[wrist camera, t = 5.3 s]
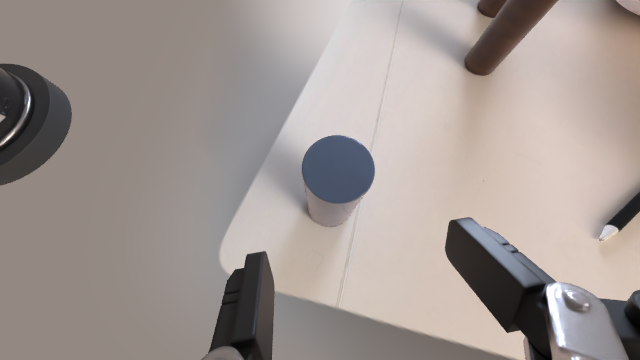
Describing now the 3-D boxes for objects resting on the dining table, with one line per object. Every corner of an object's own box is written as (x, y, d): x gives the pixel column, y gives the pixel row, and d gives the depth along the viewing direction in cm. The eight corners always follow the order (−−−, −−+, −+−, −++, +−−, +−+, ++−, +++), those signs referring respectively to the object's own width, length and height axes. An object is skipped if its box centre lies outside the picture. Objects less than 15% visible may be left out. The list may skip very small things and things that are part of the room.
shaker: (300, 217, 22) (290, 187, 13) (316, 176, 23) (317, 125, 14) (343, 233, 21) (362, 214, 13) (358, 191, 23) (383, 148, 14)
